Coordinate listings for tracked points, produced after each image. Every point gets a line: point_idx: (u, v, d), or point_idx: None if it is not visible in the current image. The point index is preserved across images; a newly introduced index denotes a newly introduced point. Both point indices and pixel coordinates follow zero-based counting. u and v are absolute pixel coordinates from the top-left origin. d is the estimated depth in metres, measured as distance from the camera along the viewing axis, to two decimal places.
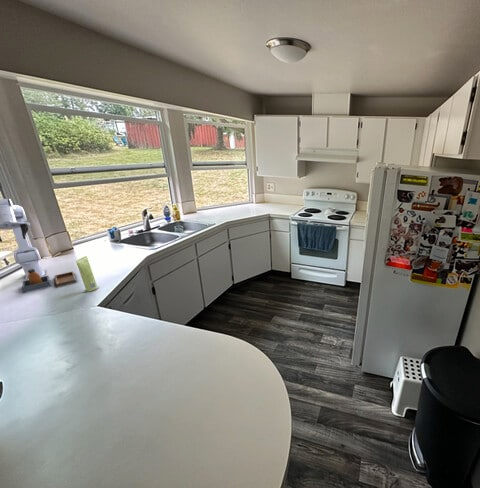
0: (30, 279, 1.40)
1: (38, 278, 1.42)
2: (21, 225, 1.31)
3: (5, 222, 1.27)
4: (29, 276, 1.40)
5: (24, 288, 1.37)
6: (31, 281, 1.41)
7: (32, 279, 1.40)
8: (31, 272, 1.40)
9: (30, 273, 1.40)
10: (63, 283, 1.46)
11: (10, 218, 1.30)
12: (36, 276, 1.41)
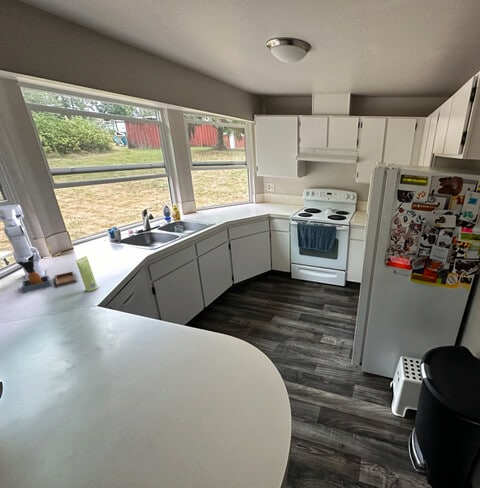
0: (30, 279, 1.40)
1: (38, 278, 1.42)
2: (33, 256, 1.43)
3: None
4: (29, 276, 1.40)
5: (24, 288, 1.37)
6: (31, 281, 1.41)
7: (32, 279, 1.40)
8: (31, 272, 1.40)
9: (30, 273, 1.40)
10: (63, 283, 1.46)
11: None
12: (36, 276, 1.41)
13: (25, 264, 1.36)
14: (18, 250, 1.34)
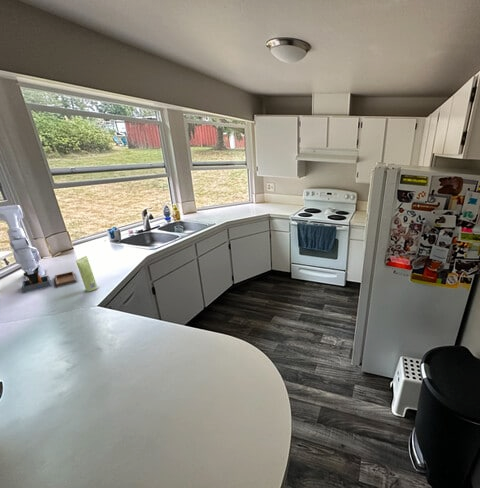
0: None
1: (38, 278, 1.43)
2: (38, 268, 1.45)
3: None
4: None
5: (24, 288, 1.37)
6: None
7: None
8: None
9: None
10: (63, 283, 1.46)
11: None
12: None
13: (30, 275, 1.39)
14: (23, 262, 1.36)
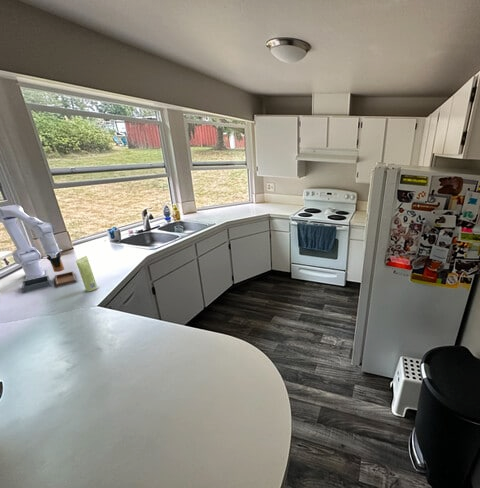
0: None
1: (60, 262, 1.47)
2: (59, 253, 1.49)
3: None
4: None
5: (24, 288, 1.37)
6: (53, 265, 1.45)
7: None
8: None
9: None
10: (63, 283, 1.46)
11: None
12: None
13: (53, 259, 1.43)
14: (47, 246, 1.40)
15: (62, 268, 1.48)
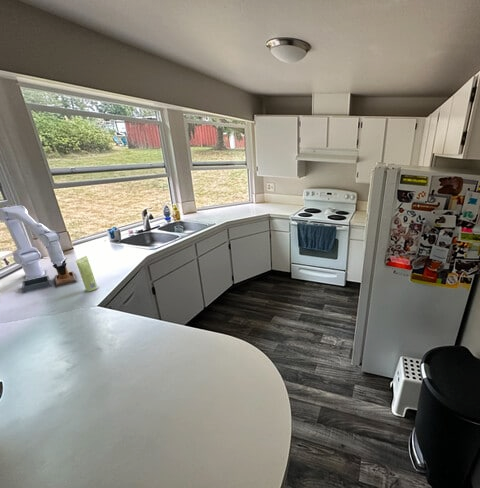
0: None
1: None
2: (65, 260, 1.51)
3: None
4: None
5: (24, 288, 1.37)
6: (59, 273, 1.48)
7: None
8: None
9: None
10: (63, 283, 1.46)
11: None
12: None
13: (59, 267, 1.46)
14: (53, 255, 1.43)
15: (67, 275, 1.51)
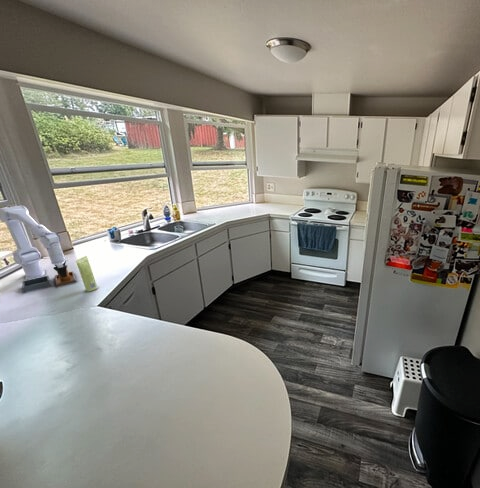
0: None
1: (66, 272, 1.50)
2: (65, 261, 1.53)
3: None
4: None
5: (24, 288, 1.37)
6: None
7: None
8: None
9: None
10: (63, 283, 1.46)
11: None
12: None
13: (59, 269, 1.45)
14: (53, 256, 1.43)
15: (68, 278, 1.51)
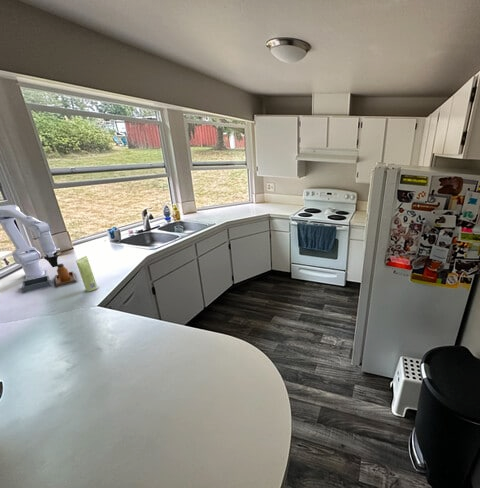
0: (59, 273, 1.48)
1: (66, 272, 1.50)
2: (56, 251, 1.50)
3: None
4: (58, 270, 1.47)
5: (24, 288, 1.37)
6: (60, 275, 1.48)
7: (61, 273, 1.48)
8: (60, 266, 1.47)
9: (59, 267, 1.47)
10: (63, 283, 1.46)
11: None
12: (64, 271, 1.49)
13: (50, 259, 1.43)
14: (44, 245, 1.41)
15: (68, 278, 1.51)
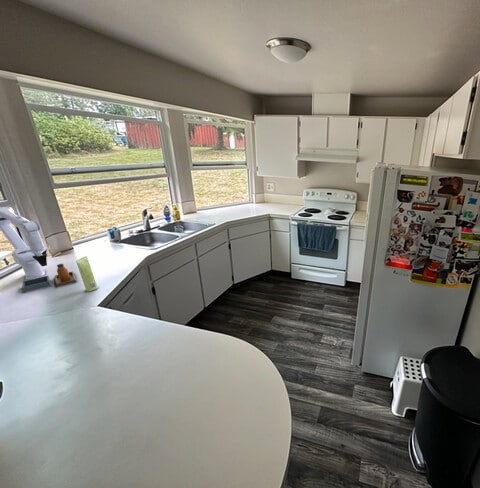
0: (59, 273, 1.48)
1: (66, 272, 1.50)
2: None
3: None
4: (58, 270, 1.47)
5: (24, 288, 1.37)
6: (60, 275, 1.48)
7: (61, 273, 1.48)
8: (60, 266, 1.47)
9: (59, 267, 1.47)
10: (63, 283, 1.46)
11: None
12: (64, 271, 1.49)
13: (39, 258, 1.43)
14: (32, 245, 1.42)
15: (68, 278, 1.51)
